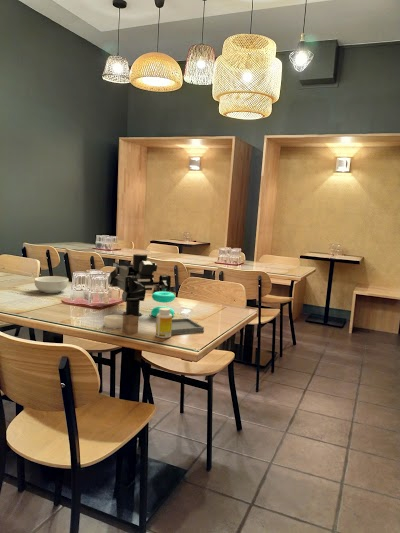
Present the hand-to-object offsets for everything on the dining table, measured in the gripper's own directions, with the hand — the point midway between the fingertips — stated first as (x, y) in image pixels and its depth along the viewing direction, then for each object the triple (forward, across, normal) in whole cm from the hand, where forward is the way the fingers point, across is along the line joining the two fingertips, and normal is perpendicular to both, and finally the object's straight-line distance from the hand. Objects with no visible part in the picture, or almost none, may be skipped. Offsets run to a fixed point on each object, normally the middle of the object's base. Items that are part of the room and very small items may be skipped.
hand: (155, 287), depth 154 cm
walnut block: (0, -9, +17) cm, 19 cm away
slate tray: (0, +11, +17) cm, 20 cm away
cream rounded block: (-10, -12, +17) cm, 23 cm away
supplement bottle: (+8, +1, +17) cm, 18 cm away
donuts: (-20, +12, +17) cm, 29 cm away
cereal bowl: (-80, -26, +17) cm, 86 cm away
